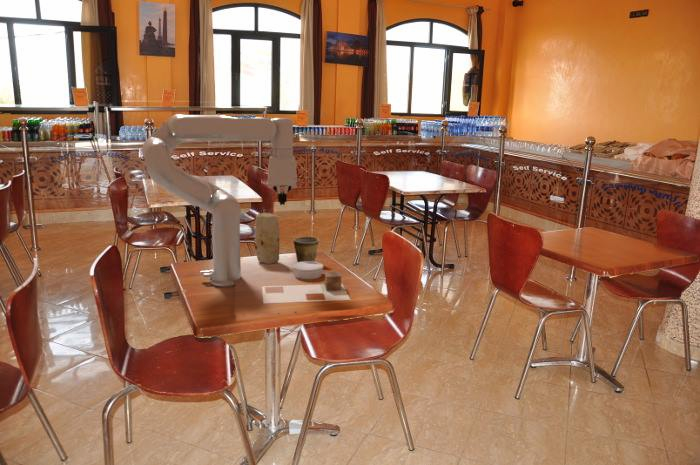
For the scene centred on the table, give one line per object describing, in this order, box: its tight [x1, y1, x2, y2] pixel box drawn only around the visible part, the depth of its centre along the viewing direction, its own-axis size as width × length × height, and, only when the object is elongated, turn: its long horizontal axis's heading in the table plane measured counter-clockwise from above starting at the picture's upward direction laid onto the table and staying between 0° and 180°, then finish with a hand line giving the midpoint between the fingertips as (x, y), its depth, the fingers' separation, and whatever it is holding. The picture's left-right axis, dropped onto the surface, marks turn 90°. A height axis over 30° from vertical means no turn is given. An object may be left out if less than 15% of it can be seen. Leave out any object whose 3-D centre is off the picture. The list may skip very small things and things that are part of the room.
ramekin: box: [292, 261, 324, 280], centre depth 208 cm, size 11×11×5 cm
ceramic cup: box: [293, 236, 320, 263], centre depth 226 cm, size 13×10×10 cm
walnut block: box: [324, 271, 342, 291], centre depth 194 cm, size 5×5×5 cm
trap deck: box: [261, 283, 351, 304], centre depth 189 cm, size 28×16×2 cm, turn 100°
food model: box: [254, 212, 281, 265], centre depth 224 cm, size 10×7×20 cm
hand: (282, 204), depth 205 cm, fingers closed
